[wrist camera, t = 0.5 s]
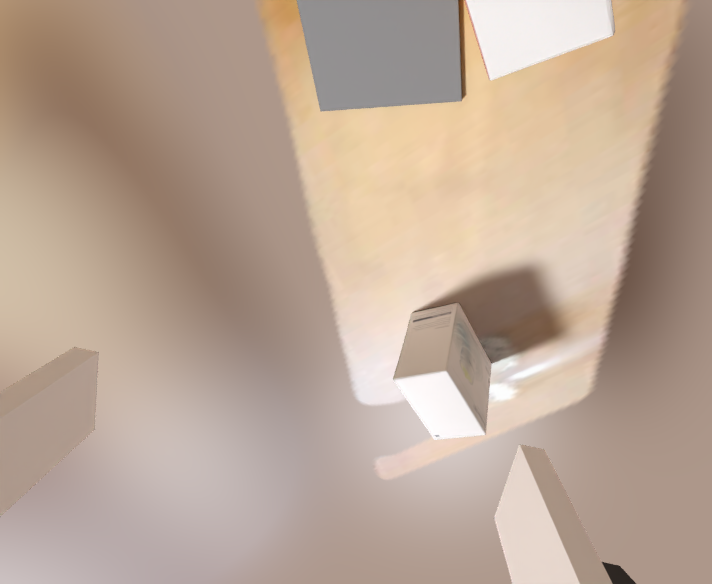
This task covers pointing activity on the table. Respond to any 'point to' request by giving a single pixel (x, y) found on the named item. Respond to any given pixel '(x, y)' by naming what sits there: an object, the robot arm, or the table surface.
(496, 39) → the small box
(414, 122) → the table surface
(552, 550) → the robot arm
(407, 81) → the mat
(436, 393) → the skincare box
